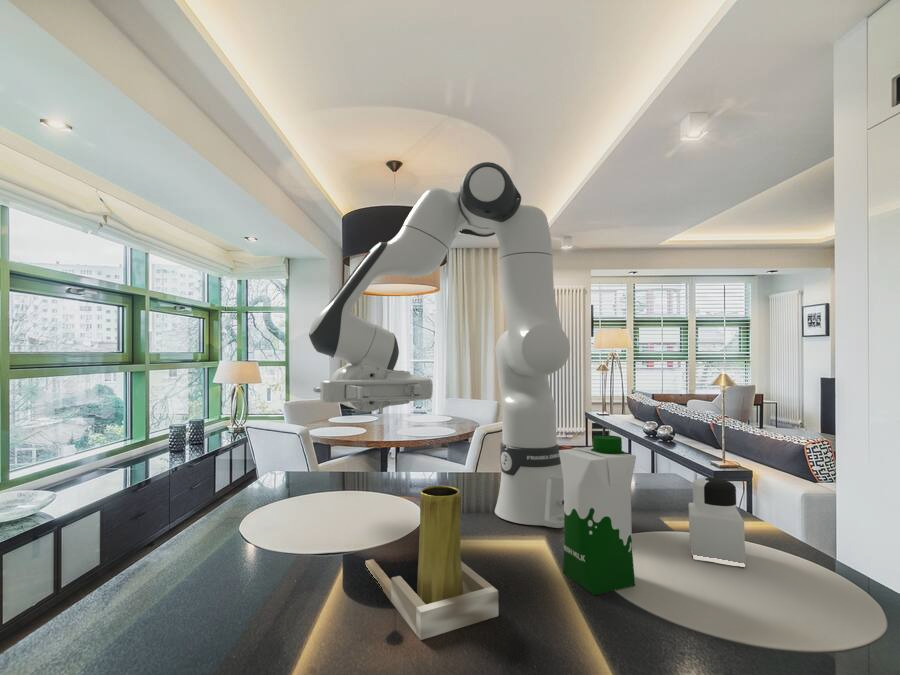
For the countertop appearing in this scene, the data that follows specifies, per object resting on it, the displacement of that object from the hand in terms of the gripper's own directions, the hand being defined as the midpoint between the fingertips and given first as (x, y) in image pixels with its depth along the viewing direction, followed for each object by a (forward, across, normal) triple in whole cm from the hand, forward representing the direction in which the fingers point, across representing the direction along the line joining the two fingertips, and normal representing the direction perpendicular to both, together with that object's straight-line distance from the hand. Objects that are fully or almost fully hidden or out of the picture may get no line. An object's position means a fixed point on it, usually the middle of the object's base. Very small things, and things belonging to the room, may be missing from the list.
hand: (392, 392), depth 75 cm
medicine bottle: (+25, +46, +26) cm, 59 cm away
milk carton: (+22, +23, +26) cm, 41 cm away
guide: (+13, 0, +26) cm, 29 cm away
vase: (+18, 0, +26) cm, 32 cm away
